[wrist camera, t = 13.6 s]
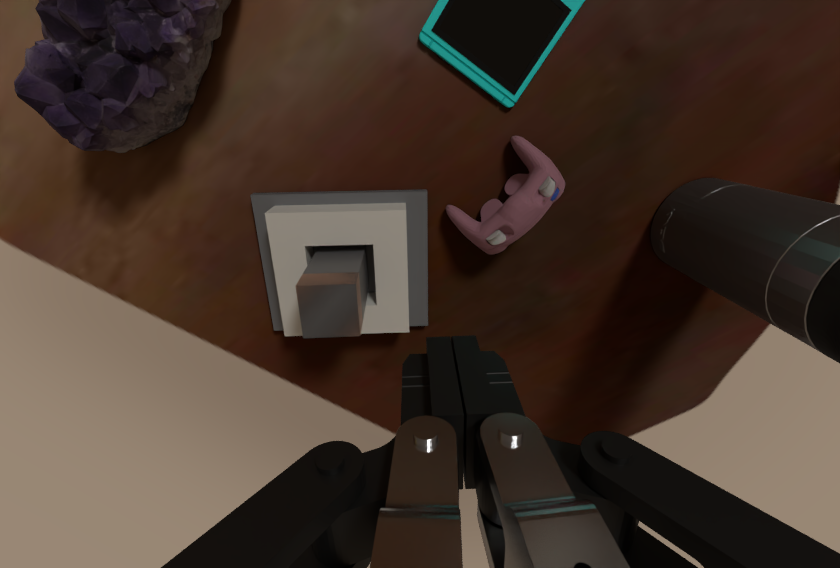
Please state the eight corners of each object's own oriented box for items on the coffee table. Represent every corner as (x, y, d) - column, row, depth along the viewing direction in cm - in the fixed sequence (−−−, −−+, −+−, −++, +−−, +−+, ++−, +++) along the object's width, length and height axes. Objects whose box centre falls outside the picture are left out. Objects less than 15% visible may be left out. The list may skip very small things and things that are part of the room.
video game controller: (464, 230, 42) (499, 271, 37) (437, 208, 39) (471, 250, 34) (537, 156, 39) (584, 190, 35) (514, 126, 36) (562, 159, 31)
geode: (205, 182, 38) (122, 202, 28) (84, 120, 37) (-44, 119, 27) (278, -66, 30) (198, -150, 21) (129, -154, 29) (-26, -283, 20)
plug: (366, 243, 39) (355, 284, 30) (369, 285, 41) (360, 336, 32) (319, 244, 39) (295, 286, 30) (324, 286, 41) (303, 338, 32)
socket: (426, 189, 38) (429, 197, 35) (427, 321, 44) (429, 340, 40) (254, 193, 38) (238, 201, 34) (276, 325, 43) (265, 346, 40)
